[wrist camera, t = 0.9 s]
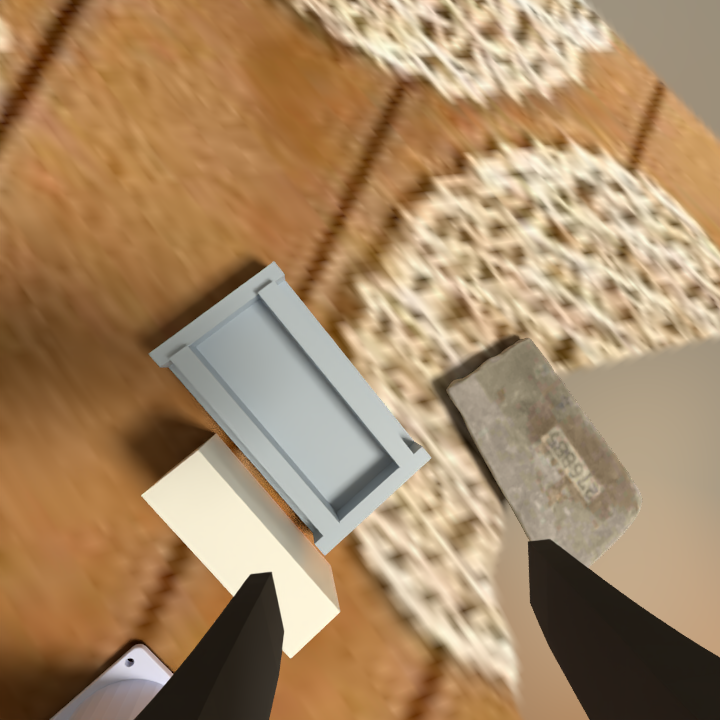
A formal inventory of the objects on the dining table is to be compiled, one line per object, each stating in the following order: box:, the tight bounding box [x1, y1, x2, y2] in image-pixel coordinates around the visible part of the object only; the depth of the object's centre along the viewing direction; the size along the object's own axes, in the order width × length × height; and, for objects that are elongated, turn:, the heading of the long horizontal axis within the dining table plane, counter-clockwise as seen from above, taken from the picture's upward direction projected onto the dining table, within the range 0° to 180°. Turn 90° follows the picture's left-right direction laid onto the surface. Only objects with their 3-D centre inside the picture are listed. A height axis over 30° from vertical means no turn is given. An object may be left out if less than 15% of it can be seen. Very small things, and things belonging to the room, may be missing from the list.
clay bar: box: [141, 434, 340, 659], centre depth 22 cm, size 12×4×5 cm, turn 38°
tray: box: [149, 262, 431, 555], centre depth 24 cm, size 9×16×3 cm, turn 39°
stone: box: [446, 338, 642, 568], centre depth 28 cm, size 18×3×10 cm
